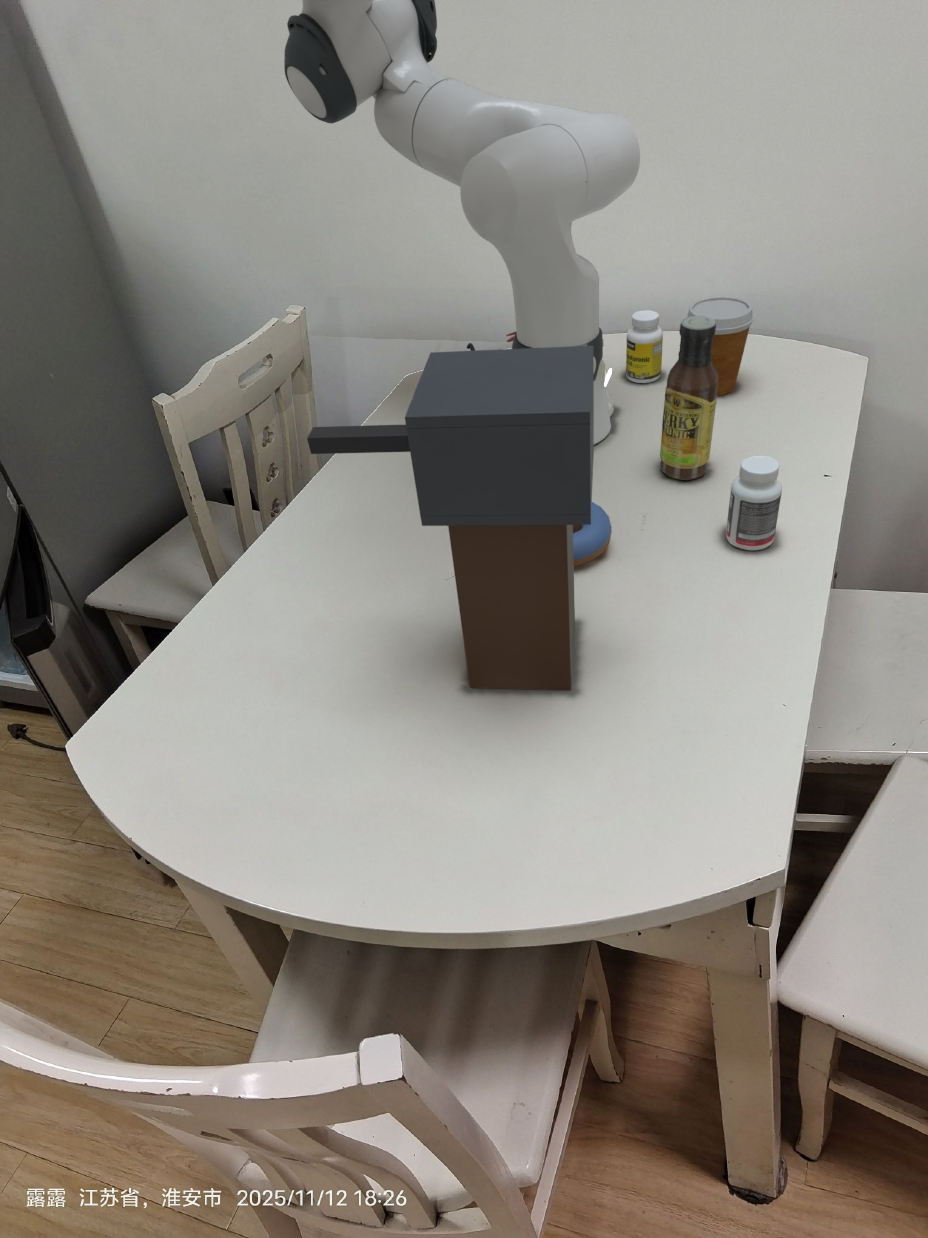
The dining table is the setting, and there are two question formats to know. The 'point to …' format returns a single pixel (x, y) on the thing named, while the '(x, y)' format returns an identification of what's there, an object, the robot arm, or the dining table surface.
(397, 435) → the tray
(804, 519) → the dining table surface
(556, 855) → the dining table surface
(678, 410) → the sauce bottle
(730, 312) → the disposable coffee cup
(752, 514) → the pill bottle
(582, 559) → the doughnut
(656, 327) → the supplement bottle
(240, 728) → the dining table surface
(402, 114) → the robot arm
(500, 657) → the dispenser
